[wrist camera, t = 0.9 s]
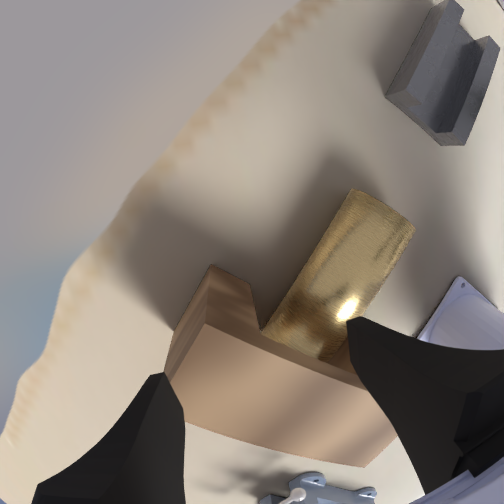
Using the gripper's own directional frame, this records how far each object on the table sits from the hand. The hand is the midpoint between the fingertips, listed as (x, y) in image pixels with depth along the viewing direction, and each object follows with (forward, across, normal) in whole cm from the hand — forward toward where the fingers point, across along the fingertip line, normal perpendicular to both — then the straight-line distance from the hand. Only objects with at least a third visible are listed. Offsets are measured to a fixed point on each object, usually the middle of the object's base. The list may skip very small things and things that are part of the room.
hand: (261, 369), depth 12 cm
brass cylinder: (+11, -6, +2) cm, 13 cm away
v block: (+10, -19, -12) cm, 25 cm away
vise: (+10, -1, +32) cm, 34 cm away
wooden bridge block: (+11, -2, +6) cm, 13 cm away
